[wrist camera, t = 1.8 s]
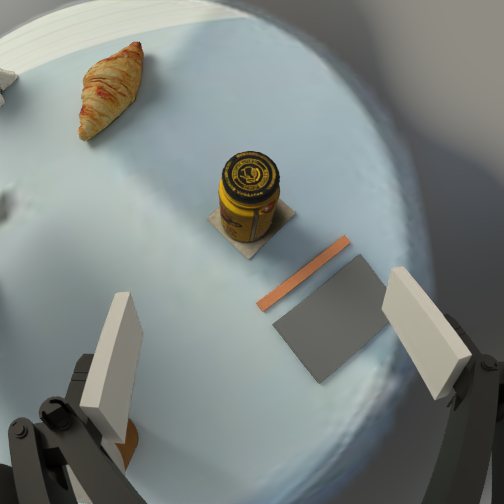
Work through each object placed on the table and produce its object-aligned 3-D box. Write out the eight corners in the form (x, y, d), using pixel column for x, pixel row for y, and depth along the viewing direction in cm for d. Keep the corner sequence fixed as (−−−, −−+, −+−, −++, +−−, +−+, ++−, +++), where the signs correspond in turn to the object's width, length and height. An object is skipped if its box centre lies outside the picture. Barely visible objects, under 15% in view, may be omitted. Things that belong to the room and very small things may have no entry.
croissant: (109, 158, 45) (116, 136, 38) (53, 139, 40) (52, 114, 33) (155, 64, 50) (168, 37, 43) (108, 46, 45) (116, 18, 38)
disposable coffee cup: (143, 396, 33) (107, 420, 22) (158, 466, 31) (132, 512, 20) (74, 396, 33) (22, 413, 21) (90, 464, 30) (47, 499, 19)
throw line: (256, 303, 37) (256, 303, 37) (343, 235, 40) (344, 235, 40) (262, 311, 37) (262, 311, 37) (349, 243, 40) (350, 242, 39)
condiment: (206, 219, 39) (197, 172, 28) (254, 176, 41) (262, 120, 30) (248, 260, 39) (256, 227, 27) (295, 213, 40) (319, 167, 29)
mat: (272, 324, 37) (273, 324, 36) (358, 254, 40) (360, 253, 39) (318, 383, 35) (319, 383, 35) (398, 309, 38) (401, 309, 37)
